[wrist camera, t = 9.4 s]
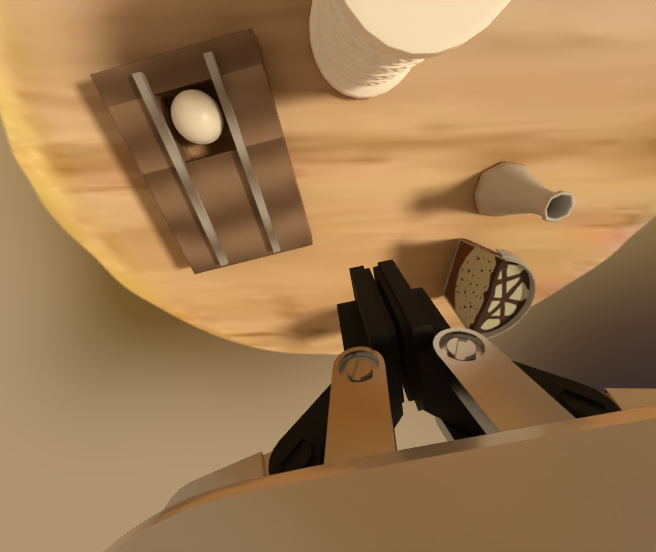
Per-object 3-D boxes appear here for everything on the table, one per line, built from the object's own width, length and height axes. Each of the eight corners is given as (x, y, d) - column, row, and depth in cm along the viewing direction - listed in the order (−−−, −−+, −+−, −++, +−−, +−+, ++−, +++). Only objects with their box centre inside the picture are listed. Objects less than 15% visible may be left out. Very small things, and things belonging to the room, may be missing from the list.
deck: (110, 80, 29) (84, 73, 26) (256, 38, 28) (249, 25, 25) (202, 264, 39) (192, 276, 36) (312, 237, 38) (312, 246, 35)
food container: (475, 302, 46) (517, 343, 37) (440, 301, 45) (473, 343, 36) (502, 230, 40) (558, 258, 31) (462, 228, 39) (507, 255, 30)
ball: (154, 84, 26) (166, 138, 27) (204, 72, 26) (216, 126, 27) (183, 110, 31) (193, 155, 32) (225, 101, 31) (235, 146, 32)
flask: (521, 211, 39) (585, 234, 30) (470, 220, 39) (518, 246, 30) (530, 156, 36) (605, 163, 27) (474, 166, 36) (530, 176, 27)
